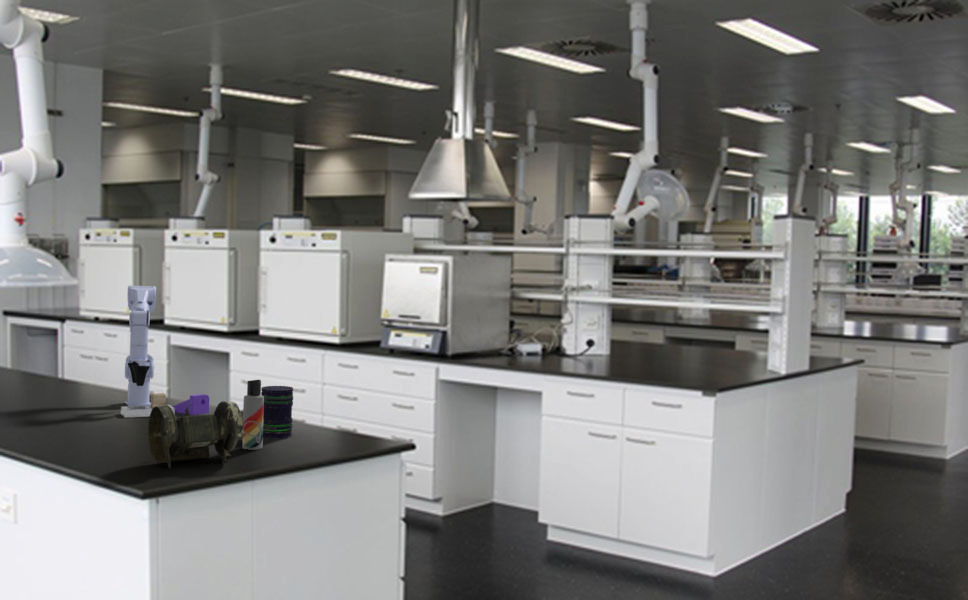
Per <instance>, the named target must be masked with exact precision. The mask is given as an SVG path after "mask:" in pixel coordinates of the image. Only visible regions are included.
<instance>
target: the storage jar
mask: <svg viewBox="0 0 968 600" xmlns="http://www.w3.org/2000/svg"><path fill="white" fill-rule="evenodd" d="M293 391H294V387H292V386H285V385H267V386H261V395H262V396H264V413H263V437H264V438H263V439H268V438H272V439H274V440H281V438H284V439H288V437H289V438H291V437H293V434H292V432H293V417H292V416H293V415H292V413H293V405H294V392H293ZM272 439H271V440H272Z"/></svg>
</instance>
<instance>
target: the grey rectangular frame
mask: <svg viewBox="0 0 968 600" xmlns="http://www.w3.org/2000/svg"><path fill="white" fill-rule="evenodd" d="M167 405H168V406H169V407H170V408H171V409H172V411H173V413H174V416H175V413H176V412H175V408H174V407H173V406H172V405H171V404H167ZM151 411H152V408H151V405H144V406H128V405H126V406H120V415H121V416H122V417H123V418H124V419H129V418H149V417H150V414H151Z"/></svg>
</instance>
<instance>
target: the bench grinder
mask: <svg viewBox="0 0 968 600" xmlns="http://www.w3.org/2000/svg"><path fill="white" fill-rule="evenodd" d="M191 402H192V401H190V402H189V404H188V405H187V407H186V410H185V411H186V414H185V416H179V417H176V416H175V415H174V413H173V411H172V409H171V408H170V407H169V406H168V405H169V404H166V405H164V406H156V407H154V408H153V409H152V411H151V414H150V417H148V422H147V423H148V425H147V430H148V431H147V439H148V440H147V441H148V446H149V450H150V453H151V454H150V455H151V456H152V458H153V460H154V461H155V462H156V463H157V464H163V463H165V464H167V466H168V469H171V467H172V463H173V461H174V462H182V461H184V460H185V461H194V460H195V459H196V460H203V459H209V458H210V457H211V454H210V446H214V449H215V451H216V452H217V454H218V455H219V456H220V457H221V463H222V464H223V463H225V462H226V461H227V457H231V456H232V455H231V453H229V452H231V451H233V450H234V449H235V448H236V446H237V443H238V440H239V438H241V437H242V438H243V435H244V429H243V414H242V412H241V409H240V407H239V405H238V404H237V403H236V402H235V401H232V400H231V401H220V402H219V403H218V404H217V406H216V408H215V410H214V412H213V414H198V415H190V414H189V410H188V407H189V405H190V403H191Z"/></svg>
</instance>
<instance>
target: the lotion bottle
mask: <svg viewBox="0 0 968 600" xmlns="http://www.w3.org/2000/svg"><path fill="white" fill-rule="evenodd" d="M246 384H247V386H246V387H247V388H246V389H247V390H246V391H247V392H246V395H244V396H243V405H242V408H243V409H242V411H243V412H242V420H243V429H244V435H243V437H242V442H241V443H242V446H241V447H242V449H243V450H247V449H248V450H249V451H255V450H261V449H263V442H264V438H263V413H264V396H262V395H261V392H262V391H261V388H262V380H261V379H253V380H252V379H251V380H247V383H246Z"/></svg>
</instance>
